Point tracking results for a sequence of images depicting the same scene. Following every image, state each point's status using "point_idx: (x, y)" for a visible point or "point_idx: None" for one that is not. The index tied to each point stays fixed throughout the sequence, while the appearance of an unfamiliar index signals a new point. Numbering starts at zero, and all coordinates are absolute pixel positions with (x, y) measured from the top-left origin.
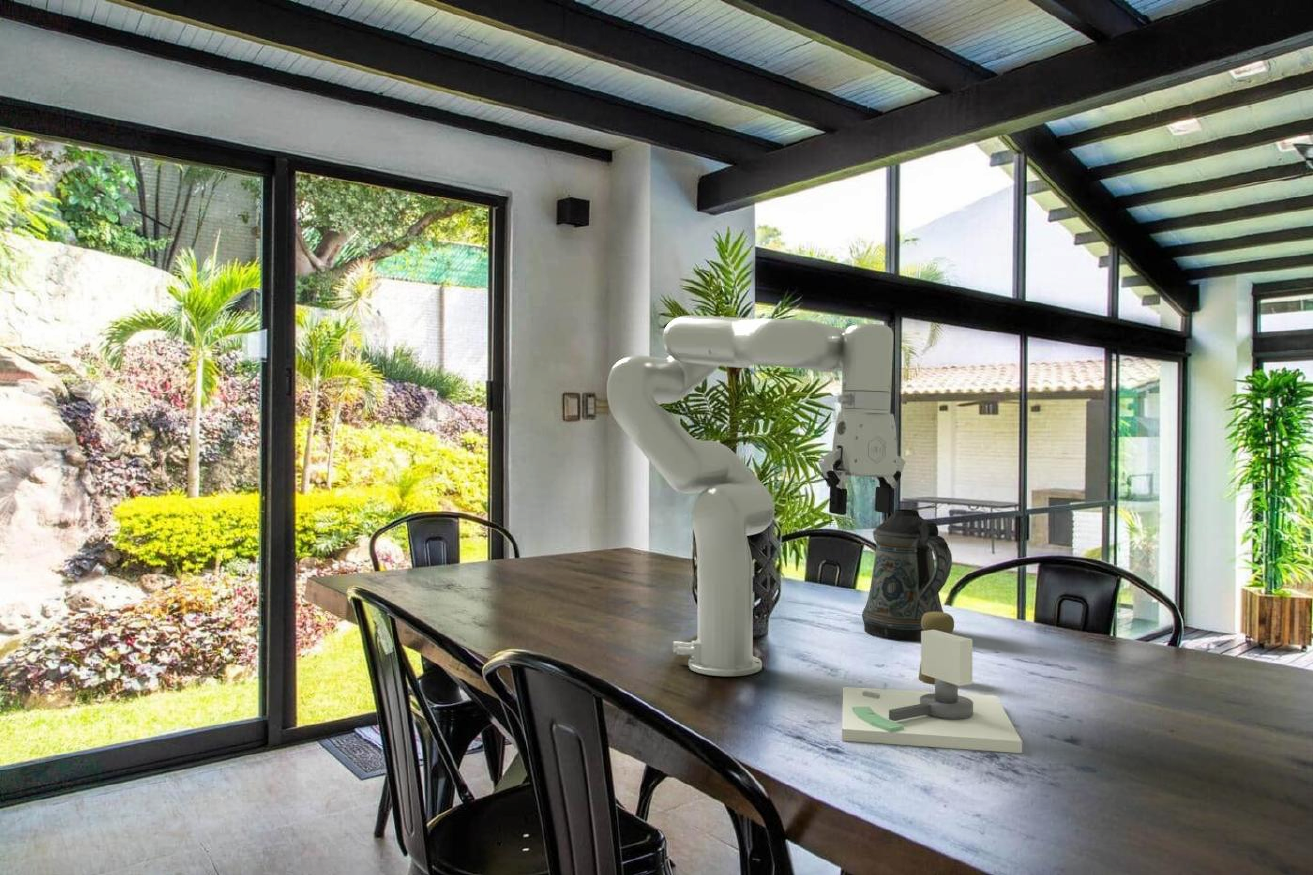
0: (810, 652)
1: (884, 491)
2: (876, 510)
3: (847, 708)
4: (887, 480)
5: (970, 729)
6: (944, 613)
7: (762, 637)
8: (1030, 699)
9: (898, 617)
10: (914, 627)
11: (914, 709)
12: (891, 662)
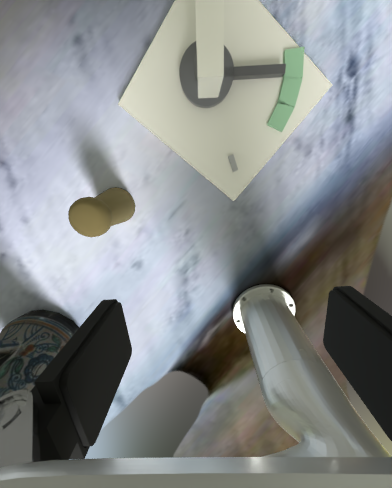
0: (168, 319)
1: (83, 390)
2: (130, 347)
3: (280, 140)
4: (35, 451)
5: (225, 12)
6: (77, 213)
7: (176, 367)
8: (73, 109)
9: (57, 335)
10: (50, 320)
11: (256, 66)
12: (121, 268)
